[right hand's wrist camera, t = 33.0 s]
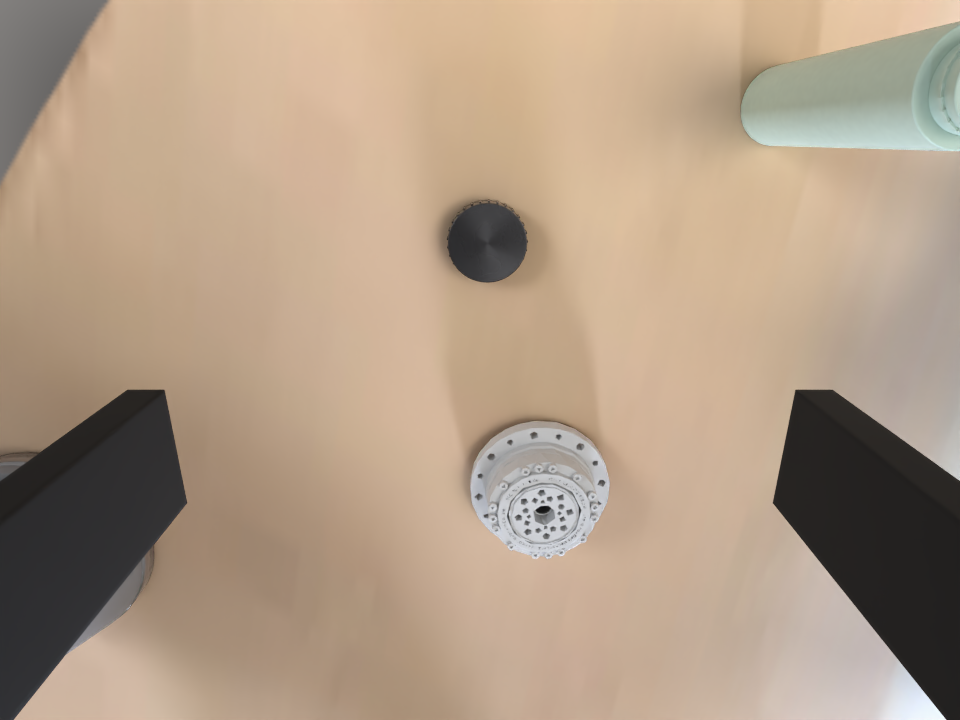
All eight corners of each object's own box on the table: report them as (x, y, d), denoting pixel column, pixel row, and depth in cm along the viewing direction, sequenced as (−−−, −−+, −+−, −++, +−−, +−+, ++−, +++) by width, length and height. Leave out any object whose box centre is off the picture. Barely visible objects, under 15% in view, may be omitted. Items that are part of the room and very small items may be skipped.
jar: (813, 140, 36) (1060, 143, 21) (739, 150, 36) (929, 159, 21) (818, 59, 35) (1089, -3, 19) (741, 70, 35) (948, 17, 19)
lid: (535, 265, 39) (537, 270, 37) (461, 287, 39) (460, 293, 38) (514, 189, 37) (515, 191, 36) (437, 212, 38) (435, 215, 36)
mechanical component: (609, 528, 46) (602, 410, 42) (622, 567, 41) (615, 440, 38) (480, 542, 46) (461, 427, 43) (479, 582, 42) (460, 458, 38)
